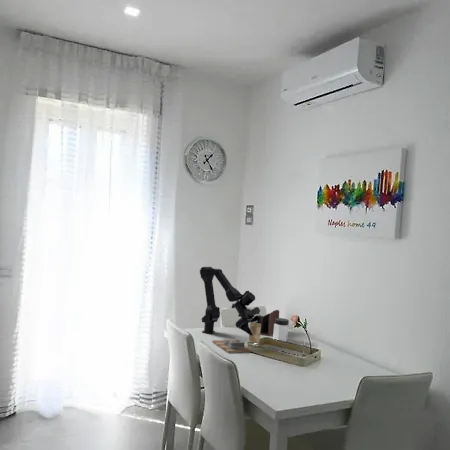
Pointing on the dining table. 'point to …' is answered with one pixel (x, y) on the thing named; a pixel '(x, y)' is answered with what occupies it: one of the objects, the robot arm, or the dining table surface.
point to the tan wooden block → (255, 332)
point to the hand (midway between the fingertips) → (256, 334)
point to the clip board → (232, 345)
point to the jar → (281, 329)
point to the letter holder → (269, 323)
